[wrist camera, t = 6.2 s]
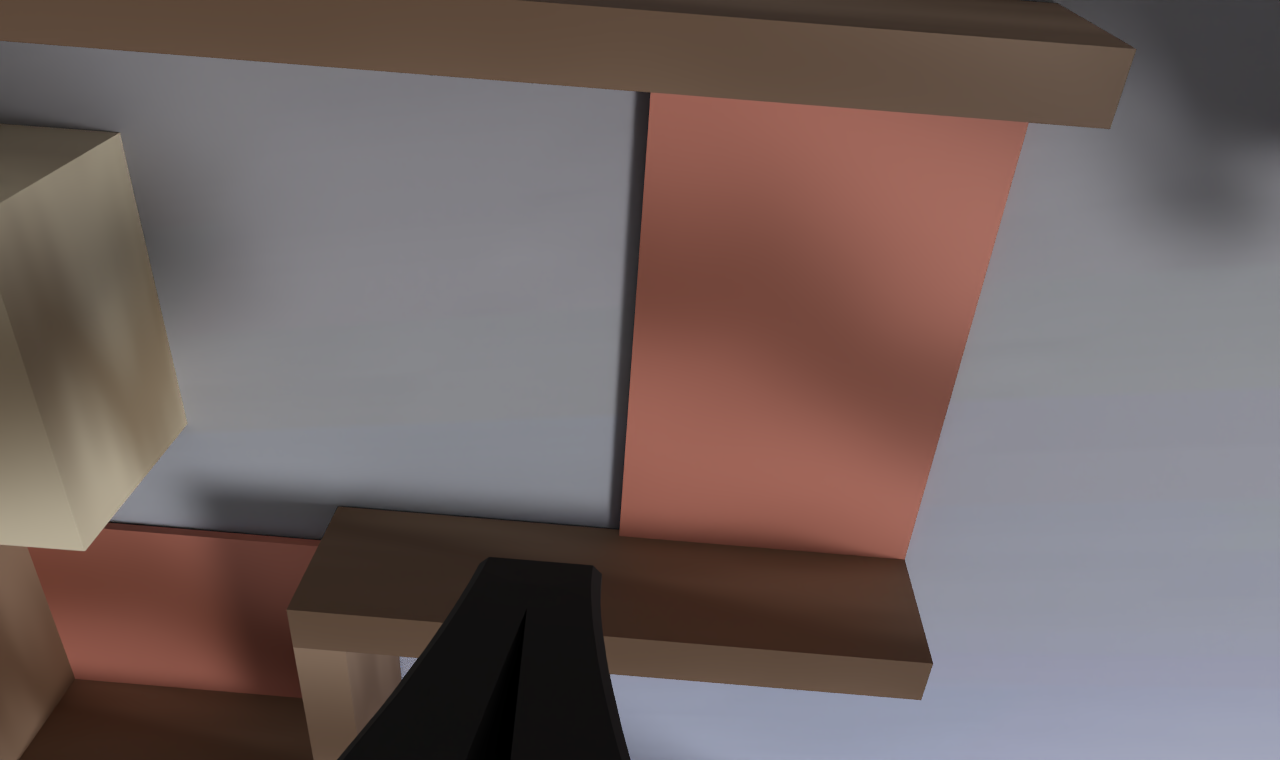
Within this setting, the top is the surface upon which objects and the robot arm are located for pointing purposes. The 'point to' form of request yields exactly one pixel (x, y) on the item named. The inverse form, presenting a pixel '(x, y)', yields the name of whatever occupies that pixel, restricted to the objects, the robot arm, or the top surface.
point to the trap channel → (660, 369)
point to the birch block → (76, 339)
